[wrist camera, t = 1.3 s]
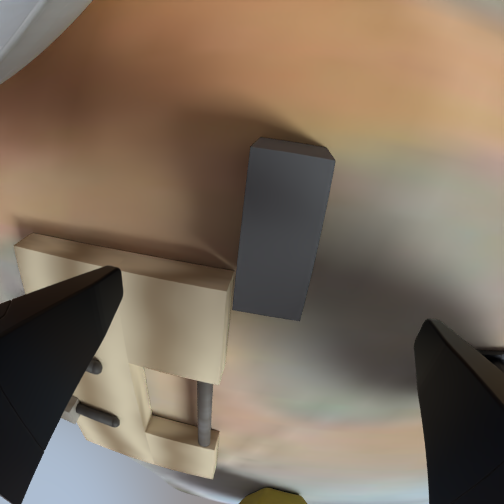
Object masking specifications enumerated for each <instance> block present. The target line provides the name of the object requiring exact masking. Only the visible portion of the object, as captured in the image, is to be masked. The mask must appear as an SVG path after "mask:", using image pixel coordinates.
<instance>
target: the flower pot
mask: <svg viewBox="0 0 504 504" xmlns="http://www.w3.org/2000/svg"><path fill="white" fill-rule="evenodd" d="M239 504H307V503H306V501H305V500H304V499H303V497H302V496H299V495H295V494H291V493H286V492H283V491H279V490H275V489H272V488H263V489H261V490H259V491H257V492H255V493H252V494H250V495H248V496H246V497H245V498H244V499H243V500H242V501H241V502H240V503H239Z"/></svg>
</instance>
